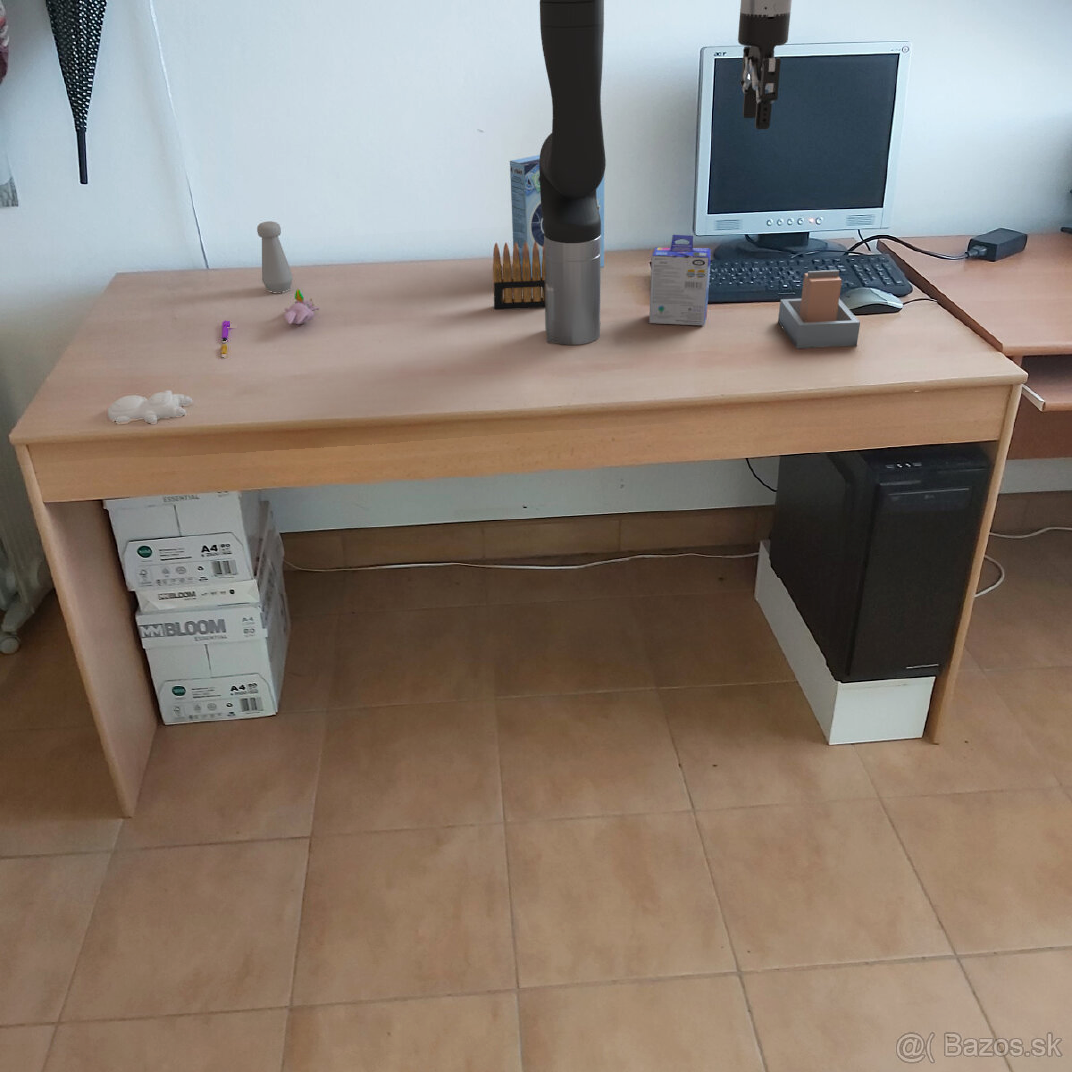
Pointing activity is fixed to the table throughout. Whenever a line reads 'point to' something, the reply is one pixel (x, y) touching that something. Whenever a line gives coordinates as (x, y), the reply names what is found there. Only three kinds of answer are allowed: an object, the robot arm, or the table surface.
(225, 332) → the marker pen
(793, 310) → the organizer bin
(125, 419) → the white flat lumpy piece
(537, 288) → the ammunition clip
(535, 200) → the blue fan box
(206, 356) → the table surface
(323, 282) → the table surface
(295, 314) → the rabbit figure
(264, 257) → the salt shaker
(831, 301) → the tan slab
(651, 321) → the ink cartridge box
